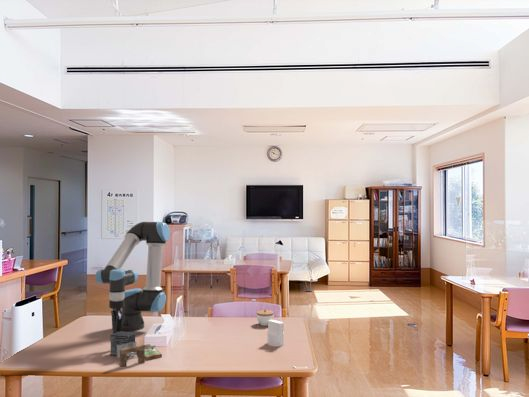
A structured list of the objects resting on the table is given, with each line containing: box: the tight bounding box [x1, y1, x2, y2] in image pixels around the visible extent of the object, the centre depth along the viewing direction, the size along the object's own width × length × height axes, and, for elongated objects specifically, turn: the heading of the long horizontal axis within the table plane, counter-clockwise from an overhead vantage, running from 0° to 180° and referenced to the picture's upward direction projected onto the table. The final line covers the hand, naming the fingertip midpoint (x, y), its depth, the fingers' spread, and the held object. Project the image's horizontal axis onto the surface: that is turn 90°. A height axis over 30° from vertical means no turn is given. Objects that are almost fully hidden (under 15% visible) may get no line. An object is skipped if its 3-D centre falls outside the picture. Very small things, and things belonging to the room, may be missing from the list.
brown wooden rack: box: [116, 341, 156, 359], centre depth 204 cm, size 19×10×6 cm, turn 125°
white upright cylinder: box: [267, 319, 285, 347], centre depth 227 cm, size 9×9×12 cm
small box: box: [110, 331, 136, 358], centre depth 211 cm, size 11×6×10 cm, turn 74°
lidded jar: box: [256, 308, 275, 327], centre depth 263 cm, size 11×11×9 cm
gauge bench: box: [119, 343, 163, 369], centre depth 208 cm, size 20×20×8 cm
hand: (116, 345), depth 218 cm, fingers closed
